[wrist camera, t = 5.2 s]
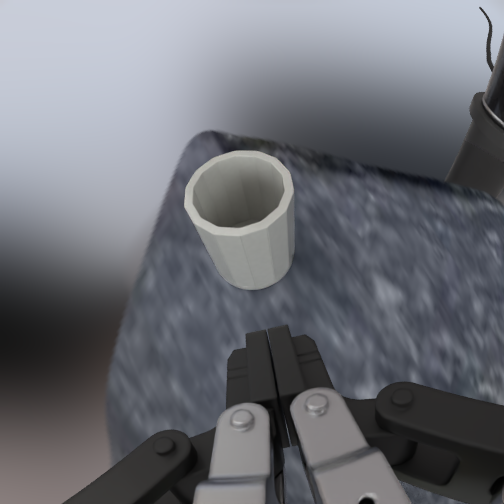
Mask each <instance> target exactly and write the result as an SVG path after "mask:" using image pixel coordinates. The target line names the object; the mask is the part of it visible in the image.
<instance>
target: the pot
mask: <svg viewBox="0 0 504 504" xmlns="http://www.w3.org/2000/svg"><path fill="white" fill-rule="evenodd" d="M184 206H185V209H186V211H187V213H188V215H189V217H190V219H191V221H192V223H193V225H194V227H195V229H196V231H197V233H198V235H199V237H200V239H201V241H202V242H203V244H204V246H205V248H206V250H207V252H208V254H209V256H210V258H211V260H212V261H213V263H214V265H215V267H216V268H217V270H218V272H219V274H220V275H221V276H222V278H223V279H224V280H226V281H227V282H228V283H230V284H231V285H233V286H235V287H238V288H241V289H247V290H257V289H263V288H266V287H269V286H271V285H273V284H275V283H276V282H278V281H279V280H280V279H282V278H283V277H284V276H285V274H286V273H287V272H288V270H289V269H290V267H291V264H292V262H293V258H294V253H295V213H294V188H293V183H292V178H291V173H290V172H289V171H288V170H287V169H286V167H285V166H284V165H283V164H282V163H281V162H280V161H279V160H278V159H277V158H275V157H272V156H270V155H267V154H264V153H262V152H259V151H233V152H230V153H226V154H223V155H220V156H217V157H214V158H212V159H211V160H210V161H208V162H207V163H206V164H204V165H203V166H201V167H200V168H199V169H197V171H196V172H195V173H194V175H193V176H192V178H191V180H190V181H189V183H188V184H187V186H186V188H185V202H184Z"/></svg>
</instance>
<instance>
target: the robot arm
mask: <svg viewBox="0 0 504 504" xmlns="http://www.w3.org/2000/svg"><path fill="white" fill-rule="evenodd" d="M479 8H480V10H481V11H482V12H483V13H484V15H485V16H486V18H487V20H488V22H489V33H488V38H487V48H486V49H487V50H486V52H487V63H488V65H489V67H490V69H491V71H492V75H491V78H490V80H489V83H488V86H487V89H486V92H485V94H484V95H483V98H482V100H481V104H482V107H483V109H484V110H485V112H486V113H487V115H488V116H489V117H490V118H491V119H492V120H493V121H494V122H495V123H496V124H497V125H498V126H499V127H501V128H502V129H503V130H504V36H503V39H502V43H501V46H500V50H499V53H498V56H497V60H496V63H495V66H493V64H492V61H491V52H490V43H491V37H492V24H491V21H490V19H489V17H488V16H487V14H486V13H485V12H484V10H483V9H482V8H481V7H479ZM268 335H269V340H270V344H269V340H268V336H267V332H266V329H265V330H261V331H256V332H251V333H247V334H246V348H242V349H237V350H234V351H233V352H232V354H231V355H230V357H229V358H228V364H227V370H228V372H227V394H226V410H225V411H224V412H223V413H222V414H221V415H220V417H219V419H218V421H217V426H216V427H215V428H213V429H211V430H210V431H208V432H205V433H203V434H200V435H197V436H194V437H191V438H188V436H187V435H186V434H185V433H183V432H181V431H178V430H164V431H160V432H158V433H156V434H154V435H152V436H151V437H150V438H148V439H147V440H146V441H145V442H143V443H142V444H141V445H140V446H139V447H137V448H136V449H135V450H134V451H132V452H131V453H130V454H129V455H127V456H126V457H125V458H123V459H122V460H121V461H120V462H118V463H117V464H116V465H114V466H113V467H112V468H111V469H109V470H108V471H107V472H105V473H104V474H103V475H101V476H100V477H99V478H97V479H96V480H95V481H93V482H92V483H91V484H90V485H88V486H86V487H85V488H84V489H82V490H81V491H79V492H78V493H77V494H75V495H74V496H72V497H71V498H70V499H68V500H67V501H65V502H64V503H63V504H287V494H286V475H285V466H284V463H285V459H284V452H283V448H287V447H290V444H289V439H288V433H287V428H288V432H289V436H290V440H291V444H292V446H296V445H298V447H299V451H300V456H301V460H302V464H303V468H304V471H305V474H306V477H307V480H308V483H309V487H310V490H311V493H312V496H313V499H314V502H315V504H412V503H411V501H410V500H409V498H408V496H407V494H406V493H405V491H404V489H403V487H402V486H401V484H400V482H399V480H400V481H403V482H405V483H408V484H411V485H413V486H416V487H419V488H421V489H424V490H427V491H430V492H433V493H436V494H439V495H442V496H445V497H448V498H451V499H454V500H458V501H461V502H465V503H468V504H504V406H503V405H498V404H494V403H489V402H485V401H480V400H476V399H472V398H468V397H464V396H460V395H456V394H452V393H448V392H444V391H441V390H437V389H433V388H430V387H426V386H423V385H419V384H416V383H412V382H397V383H393V384H390V385H388V386H386V387H385V388H383V389H382V390H381V391H380V392H379V394H378V395H377V398H376V399H364V400H355V399H349V398H346V397H343V396H342V395H340V394H339V393H338V392H337V391H336V390H335V389H334V387H333V385H332V382H331V380H330V377H329V375H328V372H327V370H326V367H325V365H324V363H323V360H322V358H321V355H320V353H319V351H318V348H317V346H316V343H315V341H314V340H313V339H311V338H310V337H308V336H307V335H301V336H296V337H291V334H290V331H289V328H288V325H283V326H278V327H274V328H270V329H268ZM270 346H271V348H270ZM271 351H272V353H271ZM284 416H285V417H284ZM285 420H286V423H285ZM286 424H287V428H286Z"/></svg>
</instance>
